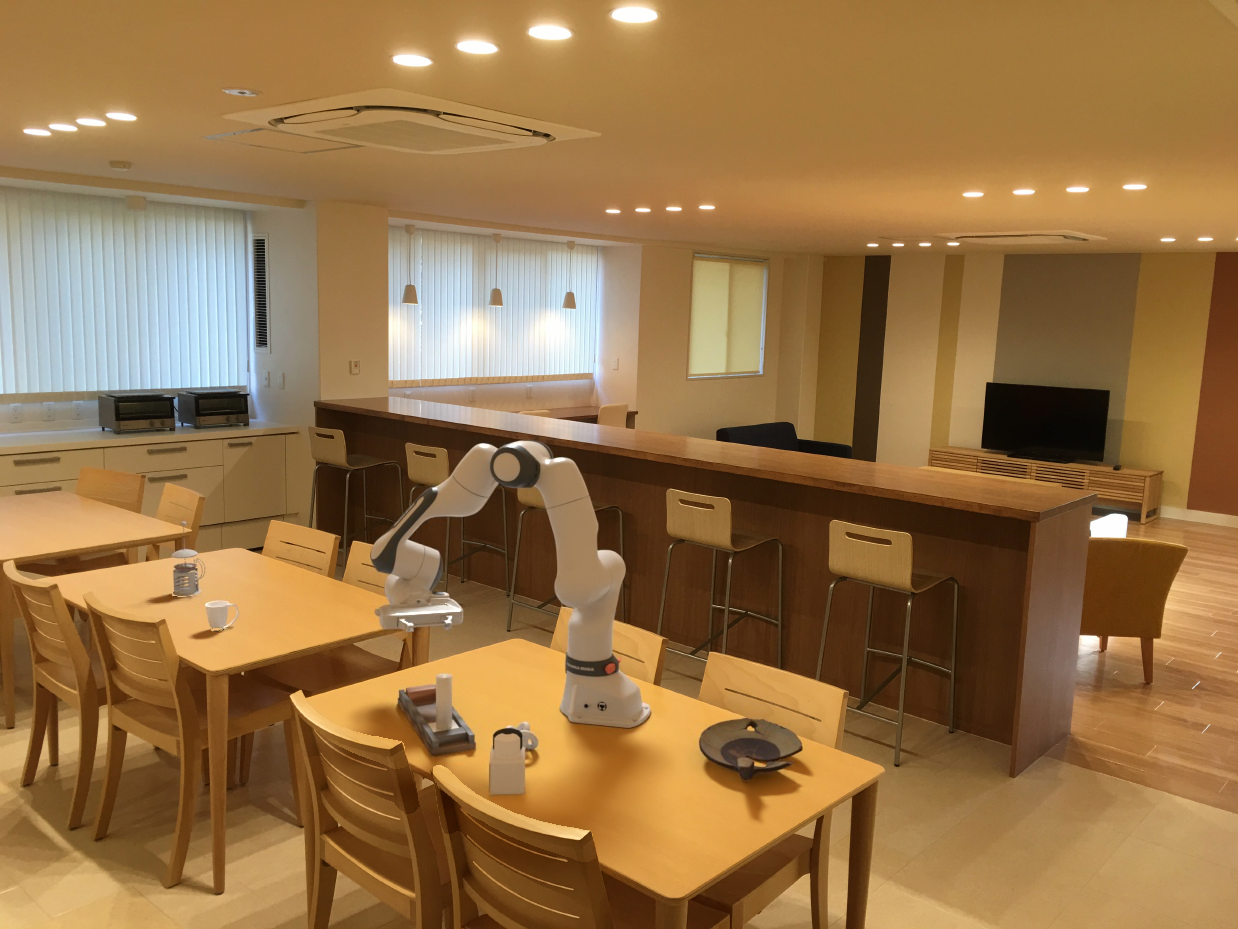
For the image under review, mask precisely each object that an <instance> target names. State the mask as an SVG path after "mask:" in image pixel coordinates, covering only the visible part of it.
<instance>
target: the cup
mask: <svg viewBox="0 0 1238 929" xmlns="http://www.w3.org/2000/svg"><path fill="white" fill-rule="evenodd" d="M204 605H205V606H204V607H205V610H206V615H207V620H208V623H209V627H210V629H211V628H212V629H213V628H222V629H220V630H223V629H225V630H226V628H225V627H228V628H229V627H230V626H232V625H233V624H234V623H235V622H236V620H238V618H239V616H240V615H239V614H240V611H239V609H238V608H239V607H238V606H237V605H236V604H234V603H230V602H229V601H227V600H212V601H209V602H206V603H205V604H204ZM232 606H234V608H235V611H236V615H235V617H234V619H232V621H231V622H230V623H228V624H227V620H228V614H229V607H232ZM214 631H218V630H214ZM223 631H224V630H223Z"/></svg>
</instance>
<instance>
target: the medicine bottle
mask: <svg viewBox="0 0 1238 929" xmlns="http://www.w3.org/2000/svg"><path fill="white" fill-rule="evenodd" d="M522 737H523V735H522V733H521V732H520V731H519V730H517V729H513V728H506V727H505V728H499V729H497V730H496V731H494V733H493V734H492V747H491V748H490V755H489V762H488V763H489V766H488V768H489V770H488V778H489V780H488V781H489V782H488V783H489V785H488V786H489V788H488V793H489V795H490V796H495V795H497V796H500V795H503V796H504V795H506V796H507V795H524V794H525V793H526V792H525V788H526V787H525V783H526V780H525V779H526V750H525V747H522Z"/></svg>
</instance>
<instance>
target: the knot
mask: <svg viewBox="0 0 1238 929" xmlns="http://www.w3.org/2000/svg"><path fill="white" fill-rule="evenodd" d="M505 728H513V729H517V730H519V731H520V732H521V733H522V735H523V737H522V747H525V751H526V750H535V749H537V748H538V746H539V739H538V737H537V736H536V734H535V733H534V732H532V731H531V726H530V723H529V722H528V721H522V722H520V723H519V724H518V726H517V727H515V726H513V725H507V726H506V727H505ZM529 740H530V741H531V742H530V741H529Z"/></svg>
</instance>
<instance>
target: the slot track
mask: <svg viewBox="0 0 1238 929" xmlns="http://www.w3.org/2000/svg"><path fill="white" fill-rule="evenodd" d="M397 705H398V707H399V708H400V709H401V711H402V712H403V715H404V716H405V717H406V719H407V720H408V722H409V723H410V725H411V726H412V728H413V729H414V731H415V732H416V734H417V736H418V737H419V739H420V740H421V742H422V743H423V745H424V746H425V748H426V749H427V751H428V753H429V754H430V756H431V757H432V756H434V757H438V756H444V755H445V756H446V755H449V754H450V755H451V754H455V753H461V752H466V751H472V750H476V749H477V742H476V741H475V740H476V736H475V733H474V732H473V730H472V729H471V728H470V727H469V726H468V724H467V723H466V721H465V720H464V719H463V717H462V716H461V714H459V712H458V711H457V709H456V708H455V707H454V706H453V705H452V720H454V721H455V723H456V724H457V725H458V727H459V728H454V729H448V730H442V731H436V732H432V730H431V729H430V727H429V726H428V724H429V723H435V722H436V684H433V683H431V684H424V685H417V686H411V687H405V689H398V697H397Z"/></svg>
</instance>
